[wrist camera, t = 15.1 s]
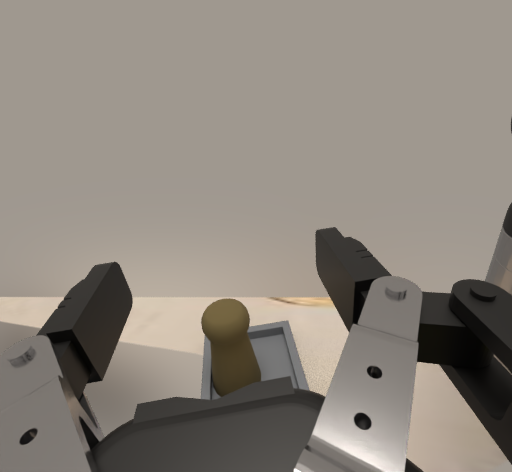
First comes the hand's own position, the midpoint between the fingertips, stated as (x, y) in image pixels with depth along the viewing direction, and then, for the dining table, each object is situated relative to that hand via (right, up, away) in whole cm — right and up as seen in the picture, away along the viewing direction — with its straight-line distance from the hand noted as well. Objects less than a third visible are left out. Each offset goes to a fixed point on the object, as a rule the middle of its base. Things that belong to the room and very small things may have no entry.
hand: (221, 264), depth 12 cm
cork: (-1, -16, +23) cm, 29 cm away
